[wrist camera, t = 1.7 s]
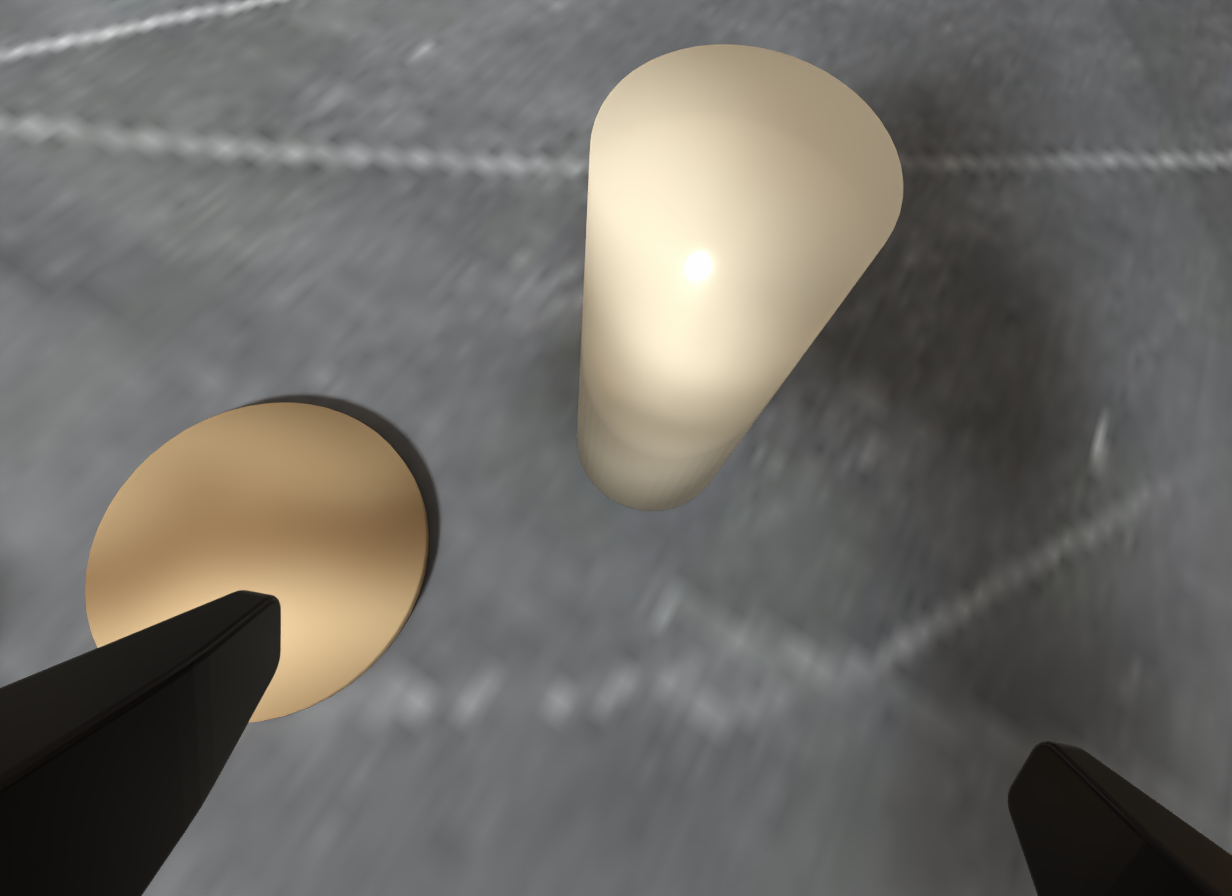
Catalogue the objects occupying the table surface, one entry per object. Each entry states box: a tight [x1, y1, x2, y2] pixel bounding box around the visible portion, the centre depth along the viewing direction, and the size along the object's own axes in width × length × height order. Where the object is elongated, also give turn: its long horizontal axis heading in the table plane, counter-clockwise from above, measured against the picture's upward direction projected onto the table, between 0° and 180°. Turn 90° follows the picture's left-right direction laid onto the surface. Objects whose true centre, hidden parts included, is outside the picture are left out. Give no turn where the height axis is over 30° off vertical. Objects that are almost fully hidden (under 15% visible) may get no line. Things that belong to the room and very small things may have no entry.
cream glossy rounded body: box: [577, 44, 903, 511], centre depth 16 cm, size 5×5×13 cm
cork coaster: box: [85, 402, 429, 723], centre depth 20 cm, size 10×10×1 cm
